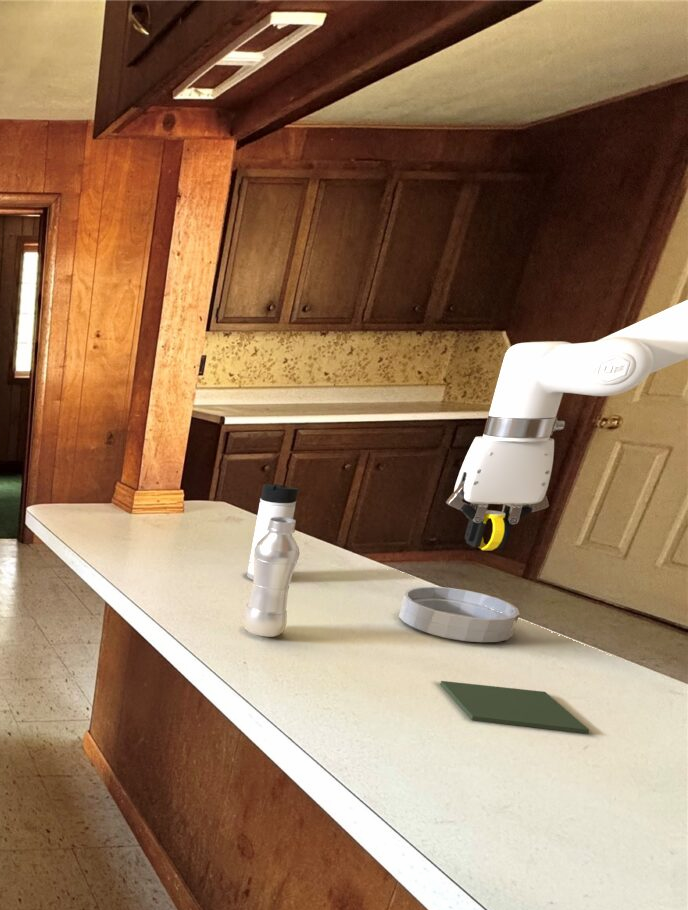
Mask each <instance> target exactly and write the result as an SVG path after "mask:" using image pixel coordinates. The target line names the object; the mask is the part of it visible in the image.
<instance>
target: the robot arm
mask: <svg viewBox="0 0 688 910" xmlns="http://www.w3.org/2000/svg"><path fill="white" fill-rule="evenodd" d="M687 359H688V299H686V300H684V301H682V302H680V303H677V304H675V305H673V306H671V307H669V308H665V310H662V311H660V312H658V313H656V314H653V315H651V316H648V317H646V318H645V319H642V320H640V321H638V322H635V323H633V324H631V325H629V326H626V327H624V328H622V329H620V330H618V331H615V332H614V333H611V334H608V335H607V336H604V337H602V338H600V339H597V340H596V341H588V342H578V343H577V342H576V343H571V342H568V341H529V342H520V343H519V342H518V343H516V344H514V345H512V346H510V347H509V348H508V349H507V350H506V352H505V353H504V357H503V360H502V363H501V368H500V372H499V375H498V379H497V382H496V385H495V389H494V393H493V397H492V401H491V405H490V407H489V412H488V417H487V419H486V423H485V427H484V430H483V434H482V436H475V437H474V439H473V441H472V443H471V445H470V447H469V449H468V450H467V453H466V455H465V456H464V460H463V462H462V465H461V467H460V470H459V472H458V476H457V479H456V481H455V485H454V488H453V489H454V490H453V492H452V494H451V495H450V496H449V497H448V498H447V499H446V501H445V503H446V505H447V506H449V507H452V508H454V509H456V510H459V511H460V512H461V513H462V514H464V516H465V517H466V518H467V519H468V523H467V526H466V530H465V534H464V540H465V543H466V544H467V545H469V546H471V547H472V548H479V547H480V545H481V541H482V538H483V539H484V535H485V531H486V527H487V523H486V524H485V523H483V521H484V516H485V513H486V510H488V507H489V505H502V509H501V512H504V513H505V514H506V515H505V518H503V521H504V524H505V525H504V535H503V538H502V541H501V543H500V544H499V546H498V547H497V548H496V549H504V547H505V545H506V543H508V542H509V539H510V537H511V534H512V529H513V526H514V525H516V524H518V523H519V522H520V520H521V519H523V518H524V517H527V516H528V515H530V514H532V513H534V512H539V511H542V510H544V509H547V508H549V506H550V503H549V500H548V497H547V491H548V487H549V484H550V480H551V476H552V470H553V464H554V454H555V439H554V438H551V436H553V433H554V432H556V431H561V430H563V429H564V428H565V425H566V422H565V420H558V417H557V414H558V412H559V408H560V404H561V402H562V398H563V395H564V393H565V394H576V395H585V396H592V397H610V396H611V397H612V396H615V395H620V394H623V393H626V392H628V391H630V390H632V389H635V388H636V387H637V386H639V385H640V384H641V383H643V381H645V380H646V379H647V377H648V376H649V375H651V374H653V373H656V372H658V371H660V370H662V369H665V368H667V367H671V366H672V365H675V364H677V363H680V362H682V361H685V360H687ZM463 500H464V501H466V502H468V503H470V504H468V503H466V502H464V501H463ZM492 533H493V529H491V533H490V537H489V541H490V540H491V536H492ZM489 541H488V542H489Z"/></svg>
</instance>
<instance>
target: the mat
mask: <svg viewBox="0 0 688 910" xmlns="http://www.w3.org/2000/svg"><path fill="white" fill-rule="evenodd" d="M439 685H440V686H441V687H442V688H443V690H444V691H445V692H446V693H447V694H448V695H449V696H450V697H451V699H452V700H453V701H454V702H455V703H456V704H457V705H458V706H459V708H460V709H461V710H462V711H463V712H464V713H465V715H466V716H468V718H469V719H470V720H471V721H479V722H485V723H487V722H488V723H495V724H503V725H512V726H521V727H527V728H528V727H529V728H536V729H546V730H554V731H562V732H568V733H569V732H571V733H577V734H587V735H588V733H589V732H590V729H589V728H588V727H587V726H586V725H584V724H583V723H582V721H579V719H577V718H576V717H575V716H574V715H572V713H570V712H569V711H568V710H567V709H566V708H565V707H564V706H562V705H561V704H560V703H559V702H557V701H556V700H555V699H554V698H553V697H552V696H551V695H550V694H549V693H547V692H546V691H541V690H533V689H522V688H513V687H504V686H493V685H485V684H474V683H465V682H456V681H447V680H440V683H439Z"/></svg>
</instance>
